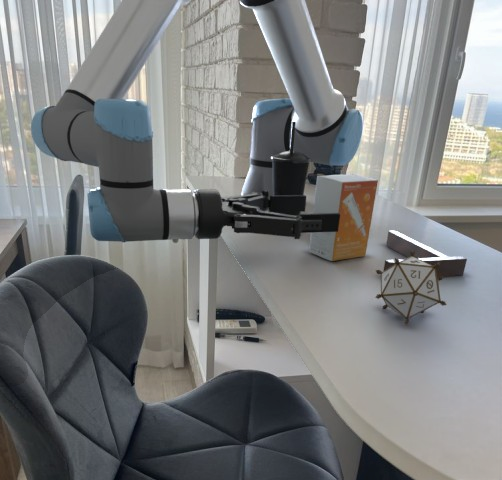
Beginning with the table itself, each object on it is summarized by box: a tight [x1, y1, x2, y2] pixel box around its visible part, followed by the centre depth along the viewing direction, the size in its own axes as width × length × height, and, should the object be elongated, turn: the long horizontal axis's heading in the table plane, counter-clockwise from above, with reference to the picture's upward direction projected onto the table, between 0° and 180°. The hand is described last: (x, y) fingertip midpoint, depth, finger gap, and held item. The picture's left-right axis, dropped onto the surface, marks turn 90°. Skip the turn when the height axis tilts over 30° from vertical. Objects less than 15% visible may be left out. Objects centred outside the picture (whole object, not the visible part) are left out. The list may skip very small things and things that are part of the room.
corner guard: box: [382, 230, 468, 278], centre depth 86 cm, size 17×14×3 cm
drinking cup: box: [271, 122, 312, 228], centre depth 98 cm, size 8×8×20 cm
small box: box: [308, 173, 379, 262], centre depth 85 cm, size 8×6×13 cm
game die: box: [374, 250, 447, 327], centre depth 63 cm, size 9×8×10 cm
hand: (320, 212), depth 84 cm, fingers open, 13 cm apart
